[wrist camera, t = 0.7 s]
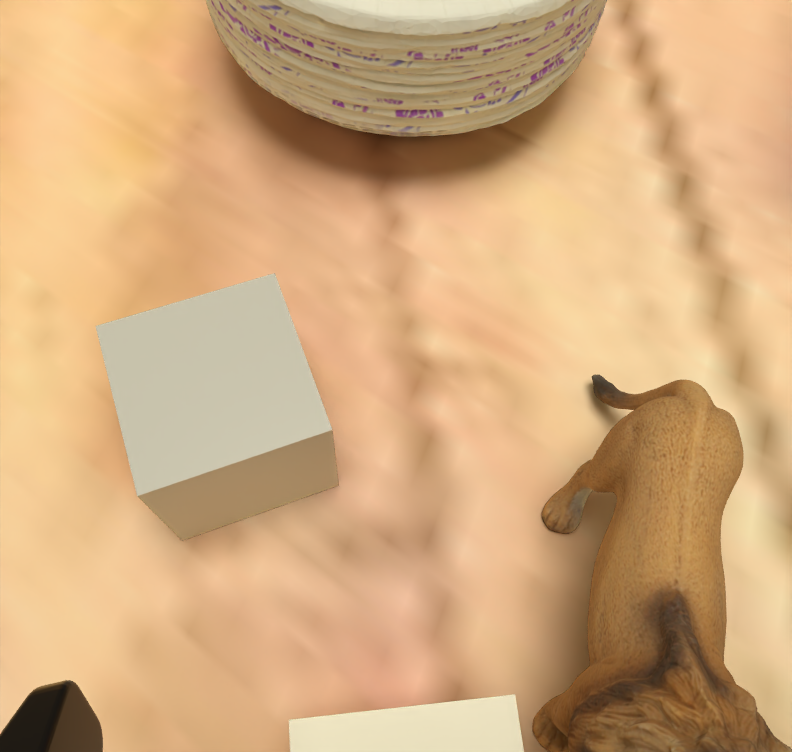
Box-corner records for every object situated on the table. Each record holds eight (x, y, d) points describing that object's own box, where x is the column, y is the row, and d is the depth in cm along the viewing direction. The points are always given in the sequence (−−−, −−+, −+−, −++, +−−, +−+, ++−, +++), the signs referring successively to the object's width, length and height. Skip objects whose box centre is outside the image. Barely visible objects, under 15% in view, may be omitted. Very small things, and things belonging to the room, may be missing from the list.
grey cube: (339, 486, 24) (332, 429, 19) (182, 541, 23) (137, 495, 18) (290, 353, 26) (274, 273, 21) (145, 399, 25) (95, 326, 20)
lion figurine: (737, 904, 19) (1011, 1037, 11) (531, 901, 19) (656, 1032, 11) (664, 385, 25) (805, 225, 17) (508, 379, 25) (576, 216, 17)
